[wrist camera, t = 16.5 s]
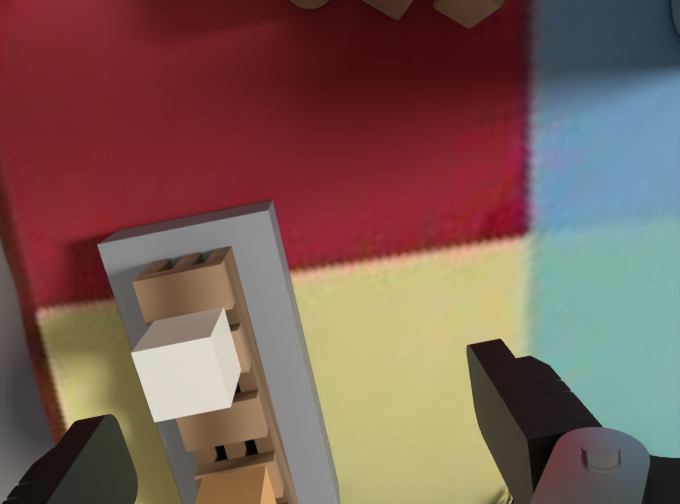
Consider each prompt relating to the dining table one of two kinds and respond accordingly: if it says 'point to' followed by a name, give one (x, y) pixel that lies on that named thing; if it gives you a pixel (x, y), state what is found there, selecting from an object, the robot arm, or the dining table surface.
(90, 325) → the dining table surface
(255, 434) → the brown slotted rack
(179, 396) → the white cube
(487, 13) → the wooden block set
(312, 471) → the dock
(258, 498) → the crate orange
